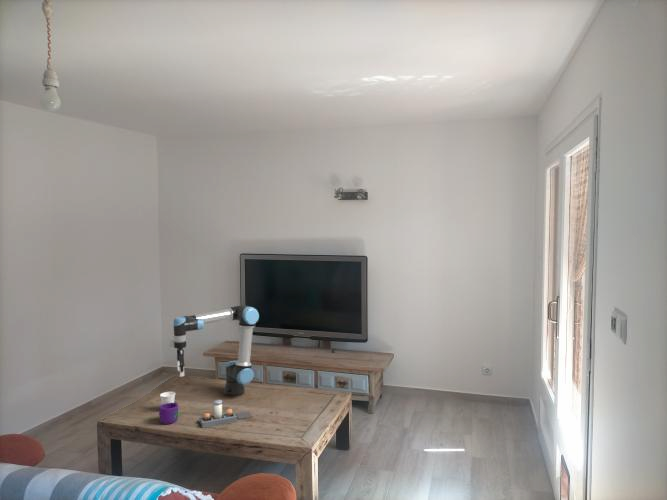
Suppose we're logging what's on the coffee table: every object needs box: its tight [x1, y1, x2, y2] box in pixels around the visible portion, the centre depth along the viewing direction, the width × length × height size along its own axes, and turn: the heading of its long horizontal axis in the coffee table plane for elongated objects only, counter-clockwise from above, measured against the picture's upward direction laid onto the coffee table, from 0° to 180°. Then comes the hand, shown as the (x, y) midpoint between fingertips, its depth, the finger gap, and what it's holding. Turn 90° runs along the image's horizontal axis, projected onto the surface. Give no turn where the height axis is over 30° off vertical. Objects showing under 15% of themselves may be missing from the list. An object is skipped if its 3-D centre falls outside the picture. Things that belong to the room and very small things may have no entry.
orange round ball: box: [203, 412, 211, 420], centre depth 298 cm, size 4×4×3 cm
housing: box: [198, 410, 238, 429], centre depth 302 cm, size 21×11×3 cm, turn 116°
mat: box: [234, 411, 254, 420], centre depth 311 cm, size 9×9×1 cm
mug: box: [158, 401, 179, 425], centre depth 306 cm, size 17×11×10 cm, turn 171°
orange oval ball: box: [225, 408, 233, 416], centre depth 305 cm, size 4×4×3 cm
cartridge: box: [213, 399, 223, 420], centre depth 301 cm, size 5×5×12 cm
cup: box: [159, 391, 176, 405], centre depth 321 cm, size 10×10×11 cm
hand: (180, 373), depth 315 cm, fingers open, 13 cm apart
